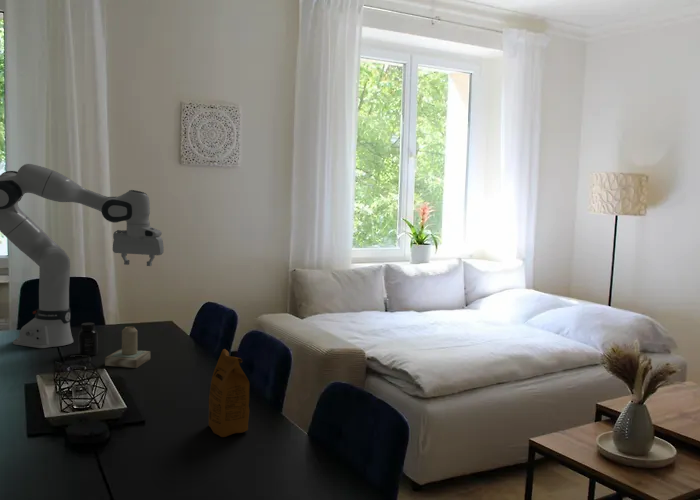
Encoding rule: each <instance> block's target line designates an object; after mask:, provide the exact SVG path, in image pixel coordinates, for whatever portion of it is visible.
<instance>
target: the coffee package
mask: <svg viewBox="0 0 700 500" xmlns="http://www.w3.org/2000/svg"><path fill="white" fill-rule="evenodd" d="M221 350H222V351H221V353H220V355H219V358H218V360H217V363H216V365H215V367H214V370H213V373H212V376H211V381H210V387H209V396H208V427H210V429H211V430H212V433H213V434H214V435H217V436H219V437H221V438H226V437H229V436H232V435H234V434H241V433H245V432H246V431H248V430H249V421H250V420H249V418H250V407H249V404H250V381H249V379H248V377H247V375H246V373H245V372H244V371H243V369H242V367H241V364H242V363H243V359H242V358H241V357H236V356H231V355H230V353H229V351H228V350H227V349H226V348H224V349H221Z"/></svg>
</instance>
